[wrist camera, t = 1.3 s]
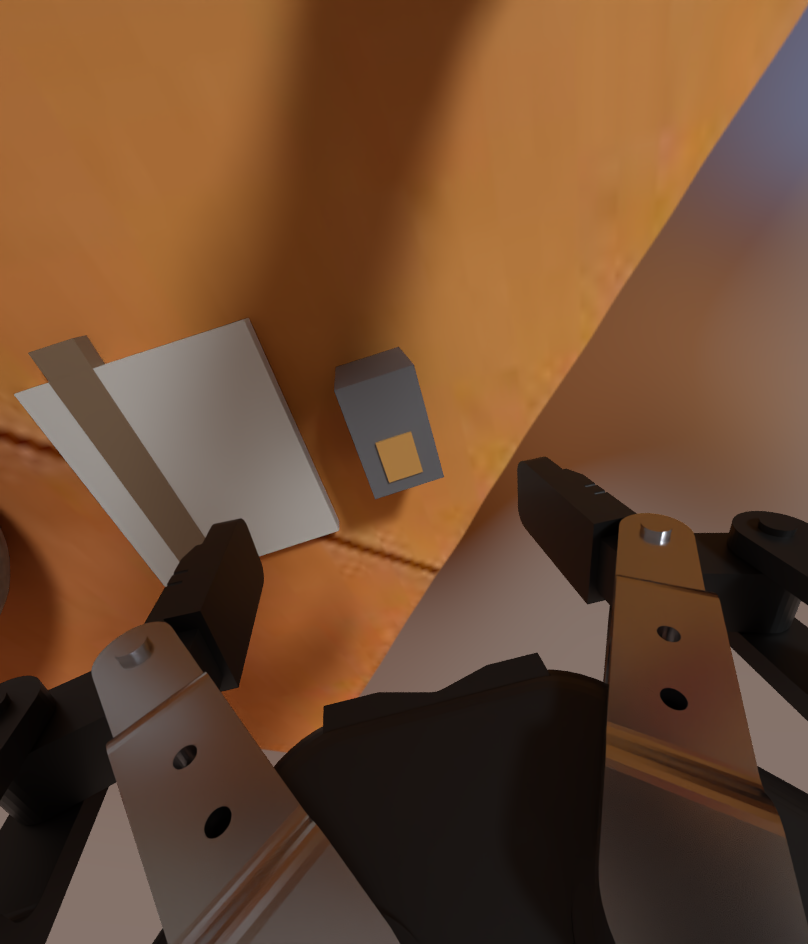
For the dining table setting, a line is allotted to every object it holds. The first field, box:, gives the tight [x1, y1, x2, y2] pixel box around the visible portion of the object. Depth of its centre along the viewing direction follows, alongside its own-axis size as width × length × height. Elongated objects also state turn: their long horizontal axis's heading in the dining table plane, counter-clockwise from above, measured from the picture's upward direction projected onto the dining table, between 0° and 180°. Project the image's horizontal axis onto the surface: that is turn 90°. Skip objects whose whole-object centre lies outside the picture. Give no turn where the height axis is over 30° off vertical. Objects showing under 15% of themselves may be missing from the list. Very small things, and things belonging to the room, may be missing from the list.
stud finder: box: [334, 347, 444, 499], centre depth 28 cm, size 5×8×7 cm, turn 16°
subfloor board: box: [14, 318, 339, 587], centre depth 31 cm, size 16×22×2 cm
